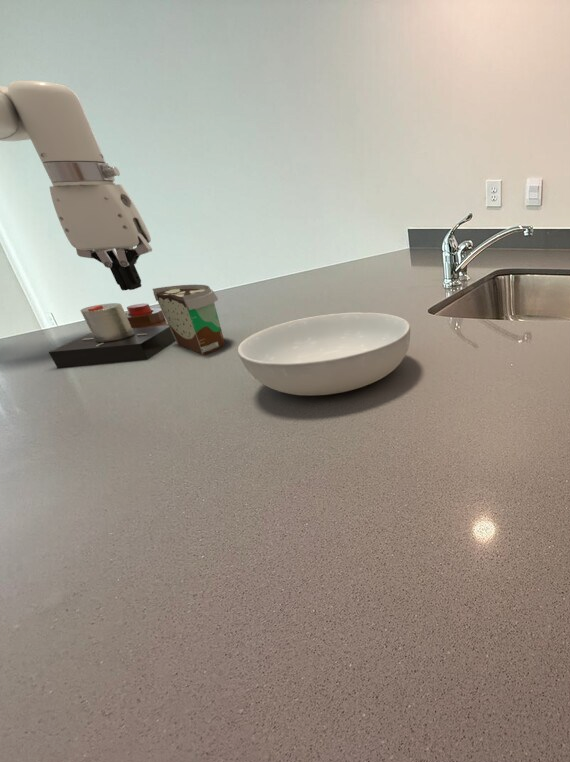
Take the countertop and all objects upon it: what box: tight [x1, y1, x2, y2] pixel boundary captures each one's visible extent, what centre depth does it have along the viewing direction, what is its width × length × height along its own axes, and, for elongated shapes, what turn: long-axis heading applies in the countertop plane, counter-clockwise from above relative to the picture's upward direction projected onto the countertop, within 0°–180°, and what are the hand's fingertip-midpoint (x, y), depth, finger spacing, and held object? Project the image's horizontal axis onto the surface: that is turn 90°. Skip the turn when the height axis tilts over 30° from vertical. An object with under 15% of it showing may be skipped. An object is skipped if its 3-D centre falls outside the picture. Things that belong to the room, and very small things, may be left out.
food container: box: [152, 284, 226, 356], centre depth 68 cm, size 12×6×10 cm, turn 58°
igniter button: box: [126, 303, 152, 316], centre depth 76 cm, size 3×3×2 cm
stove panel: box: [48, 325, 176, 369], centre depth 67 cm, size 12×10×3 cm
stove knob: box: [80, 302, 134, 342], centre depth 65 cm, size 5×5×5 cm
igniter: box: [125, 307, 168, 328], centre depth 77 cm, size 10×8×4 cm
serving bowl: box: [237, 312, 411, 396], centre depth 55 cm, size 21×21×7 cm
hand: (132, 288), depth 74 cm, fingers closed
